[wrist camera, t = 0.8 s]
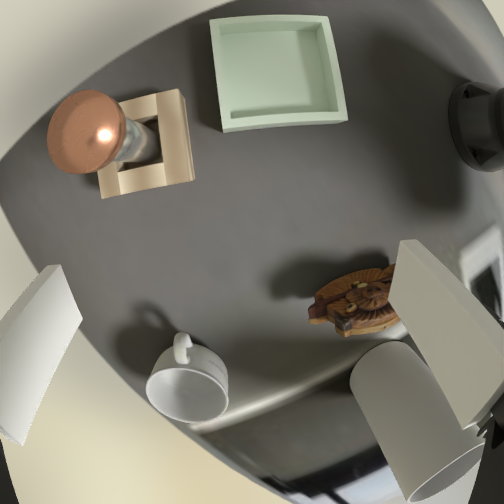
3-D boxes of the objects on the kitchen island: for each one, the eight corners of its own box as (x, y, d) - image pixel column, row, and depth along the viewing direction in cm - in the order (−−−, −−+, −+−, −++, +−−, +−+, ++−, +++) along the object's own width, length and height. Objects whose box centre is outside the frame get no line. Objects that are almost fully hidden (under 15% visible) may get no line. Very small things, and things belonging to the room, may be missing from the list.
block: (184, 99, 30) (177, 88, 26) (195, 179, 33) (189, 181, 29) (108, 117, 30) (91, 111, 25) (117, 194, 33) (101, 198, 28)
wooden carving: (400, 245, 38) (442, 268, 28) (404, 273, 39) (443, 300, 30) (294, 288, 38) (314, 326, 29) (303, 315, 40) (324, 358, 30)
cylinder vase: (343, 357, 42) (413, 484, 18) (410, 327, 42) (501, 425, 18) (351, 404, 46) (402, 512, 22) (410, 377, 46) (476, 468, 22)
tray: (319, 27, 29) (327, 16, 25) (337, 123, 33) (347, 120, 29) (210, 32, 28) (209, 19, 25) (223, 133, 32) (222, 129, 29)
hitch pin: (167, 118, 30) (115, 78, 14) (172, 164, 32) (122, 162, 16) (122, 128, 30) (45, 105, 14) (128, 173, 31) (51, 182, 16)
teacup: (222, 392, 43) (222, 429, 35) (155, 382, 41) (145, 417, 34) (237, 320, 39) (239, 355, 31) (158, 307, 38) (144, 339, 30)
